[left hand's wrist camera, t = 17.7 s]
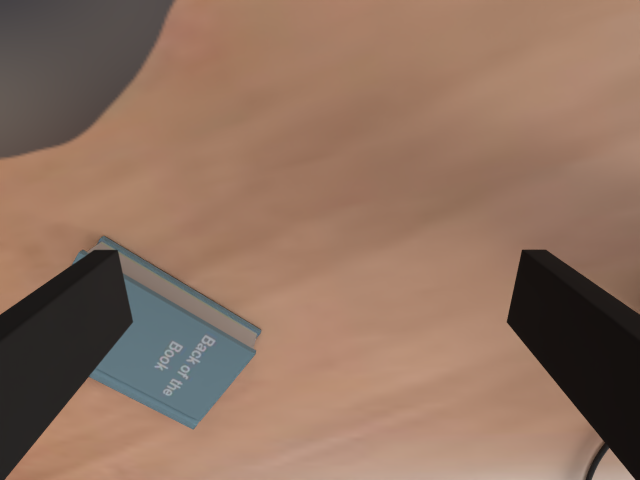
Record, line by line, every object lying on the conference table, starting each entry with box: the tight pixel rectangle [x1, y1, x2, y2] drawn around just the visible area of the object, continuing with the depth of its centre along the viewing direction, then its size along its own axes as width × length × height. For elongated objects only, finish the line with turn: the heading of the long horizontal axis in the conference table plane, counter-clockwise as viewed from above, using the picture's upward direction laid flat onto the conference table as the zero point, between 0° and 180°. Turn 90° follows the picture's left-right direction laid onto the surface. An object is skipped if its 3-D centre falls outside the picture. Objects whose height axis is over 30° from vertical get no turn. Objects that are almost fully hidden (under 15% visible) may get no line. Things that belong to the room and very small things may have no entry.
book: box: [72, 236, 261, 429], centre depth 48 cm, size 23×16×5 cm
